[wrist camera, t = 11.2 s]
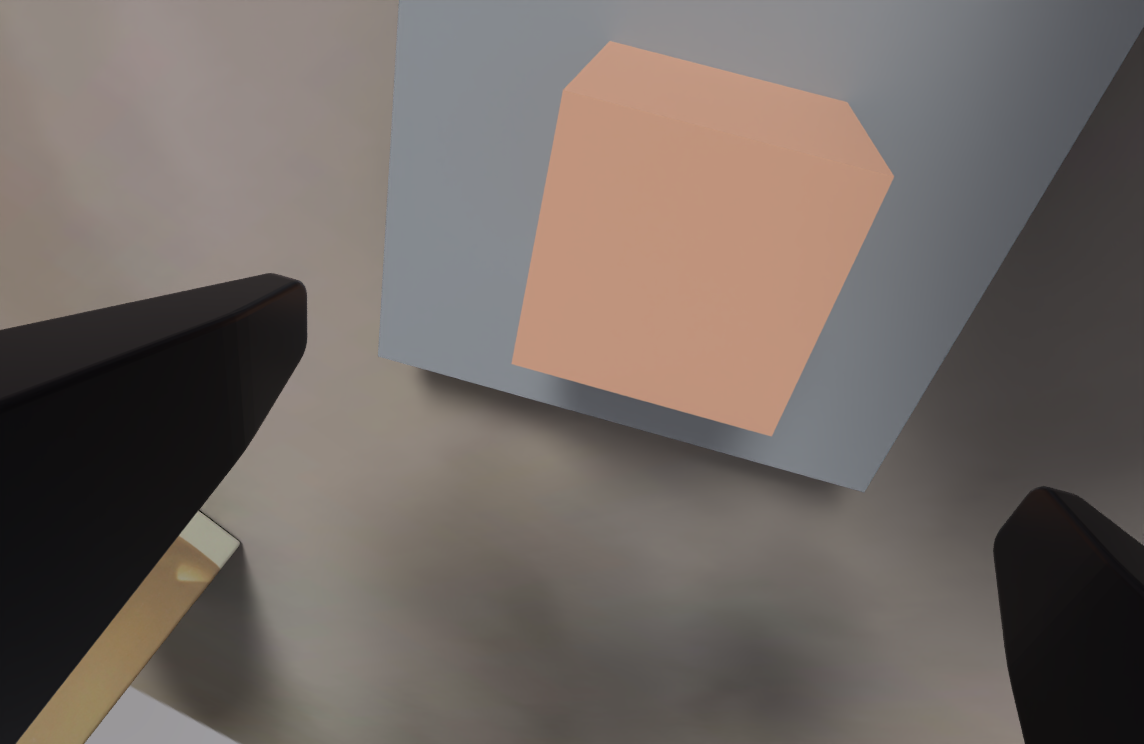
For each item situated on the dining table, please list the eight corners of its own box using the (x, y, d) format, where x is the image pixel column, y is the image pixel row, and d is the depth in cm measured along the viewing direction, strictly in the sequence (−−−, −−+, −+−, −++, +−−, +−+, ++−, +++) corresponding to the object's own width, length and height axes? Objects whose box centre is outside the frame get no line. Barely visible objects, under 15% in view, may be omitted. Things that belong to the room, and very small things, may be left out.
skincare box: (183, 595, 34) (-53, 888, 23) (102, 539, 32) (-182, 822, 22) (248, 539, 30) (8, 849, 20) (162, 475, 29) (-138, 770, 19)
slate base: (1140, -108, 14) (1227, -112, 12) (849, 427, 22) (864, 492, 20) (469, -269, 15) (417, -306, 12) (416, 307, 23) (378, 356, 20)
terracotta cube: (847, 102, 15) (894, 176, 10) (761, 311, 17) (771, 436, 13) (609, 40, 15) (562, 89, 11) (563, 258, 18) (511, 363, 13)
